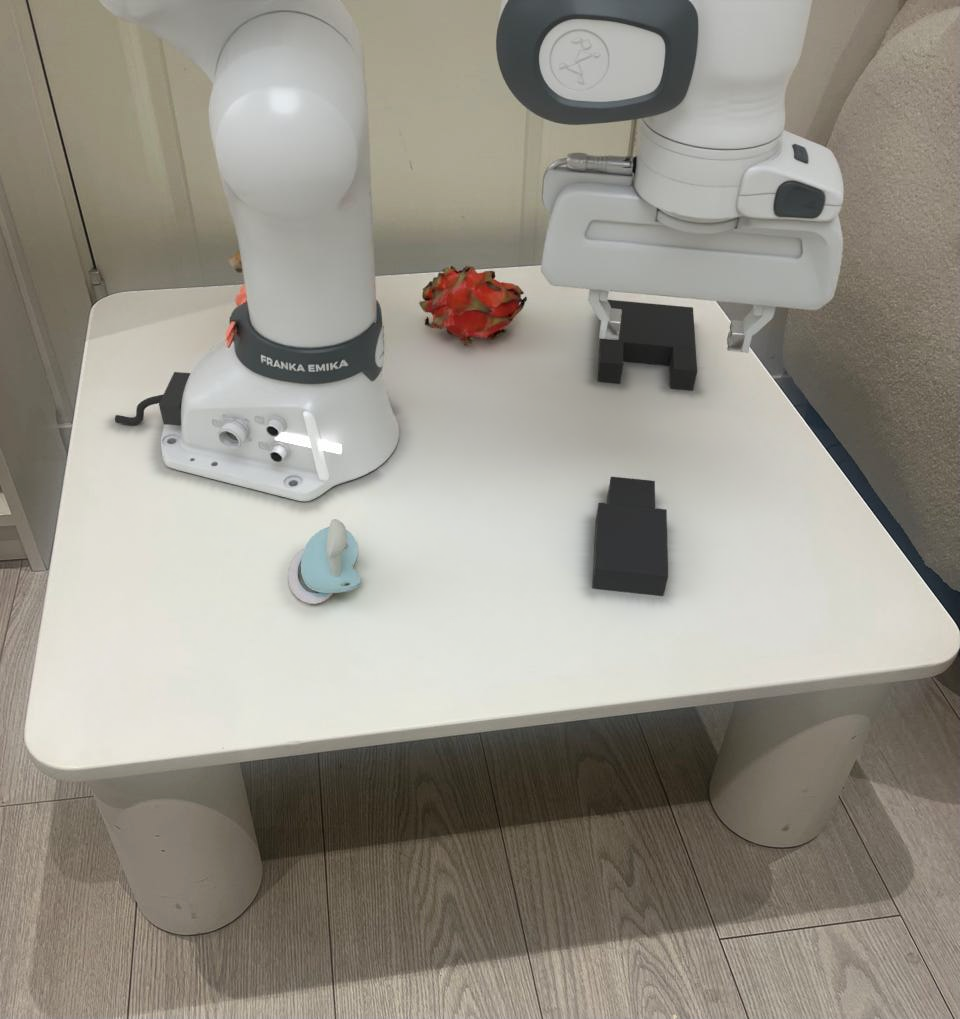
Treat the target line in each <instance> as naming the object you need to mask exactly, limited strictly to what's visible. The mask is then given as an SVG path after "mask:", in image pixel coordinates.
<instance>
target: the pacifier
mask: <svg viewBox="0 0 960 1019" xmlns="http://www.w3.org/2000/svg"><path fill="white" fill-rule="evenodd" d="M346 546H347V548H346ZM345 548H346V549H345ZM358 554H359V546H358V542H357V539H356V537H355V536H354V535H353V533H351V531H349V530H348V529H347V528H346V526H345V524H344V523H343V522H342V521H341V520H339V519H336V518H332V519H331V520H330V524H329V526H328V527H325V528H323V529H320V530H319V531H318V532H316V533H315V534H313V535H312V536H311V537H310V539H309V540H308V542H307V543H306V545H305V547H304V548H303V549H301V550H300V551H298V552H297V553H296V554H295V555H294V557H293V558H292V560H291V561H290V563H289V564H290V565H289V568H288V574H287V579H288V585H289V588H290V590H291V592H292V593H293V595H294V596H295V597H296V598H297V599H298V600H300V601H301V602H303V603H306V604H308V605H316V604H321V603H324V602H326V601H327V600H329V599H330V597H332V596H333V595H334V594H338V593H339V594H340V593H346V592H349V591H353V590H355V589H356V588H358V587H359V586H360V583H361V575H360V574H359V573H358V571H357V570H355V569H354V566H355V564H356V563H357V559H358ZM299 573H301V577H302V580H303V582H304V584H305V585H306V587H308V588H309V589H310V590H311V591H313V592H311V591H308V590H307V589H305V588H304V587H303V585H302V584H301V582H300V579H299ZM346 584H348V585H346Z"/></svg>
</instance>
